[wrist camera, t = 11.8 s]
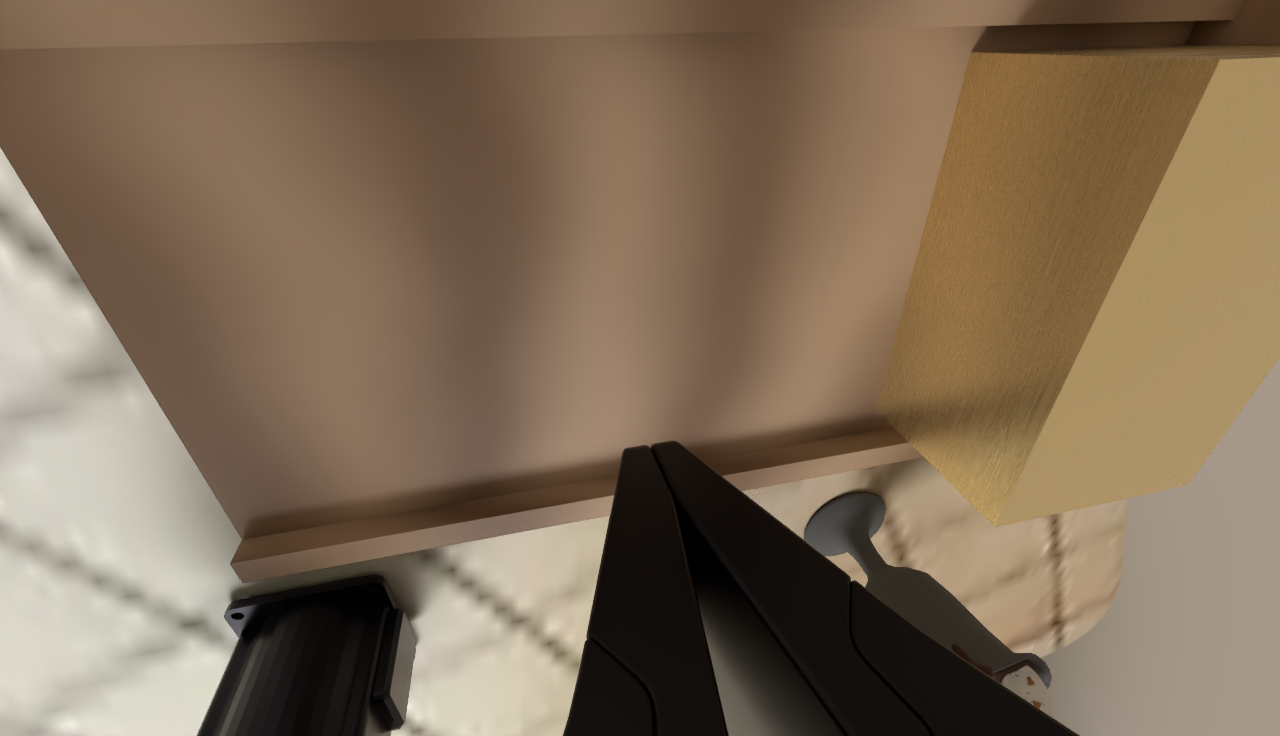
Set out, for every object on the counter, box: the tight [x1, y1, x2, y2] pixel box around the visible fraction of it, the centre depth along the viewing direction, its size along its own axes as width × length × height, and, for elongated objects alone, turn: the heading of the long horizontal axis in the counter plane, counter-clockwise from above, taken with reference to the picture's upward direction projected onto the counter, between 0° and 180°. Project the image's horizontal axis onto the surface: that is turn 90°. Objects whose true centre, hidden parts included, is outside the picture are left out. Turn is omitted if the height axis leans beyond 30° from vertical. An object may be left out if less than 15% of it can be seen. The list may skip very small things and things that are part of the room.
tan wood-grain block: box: [876, 45, 1280, 527], centre depth 13 cm, size 6×10×5 cm, turn 1°
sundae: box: [804, 493, 1055, 719], centre depth 24 cm, size 7×7×15 cm
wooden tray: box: [0, 0, 1280, 583], centre depth 14 cm, size 26×15×4 cm, turn 91°
